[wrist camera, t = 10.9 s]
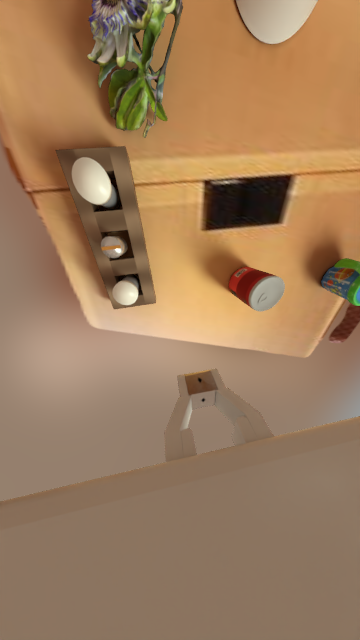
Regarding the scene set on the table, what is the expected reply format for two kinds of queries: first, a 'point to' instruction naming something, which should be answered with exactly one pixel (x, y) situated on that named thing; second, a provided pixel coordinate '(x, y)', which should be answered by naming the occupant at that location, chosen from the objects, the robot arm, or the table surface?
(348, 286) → the snack cup
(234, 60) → the table surface
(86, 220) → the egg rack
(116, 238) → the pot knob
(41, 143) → the table surface
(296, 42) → the table surface
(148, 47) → the passion flower
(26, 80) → the table surface
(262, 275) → the canned food
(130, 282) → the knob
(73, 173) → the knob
